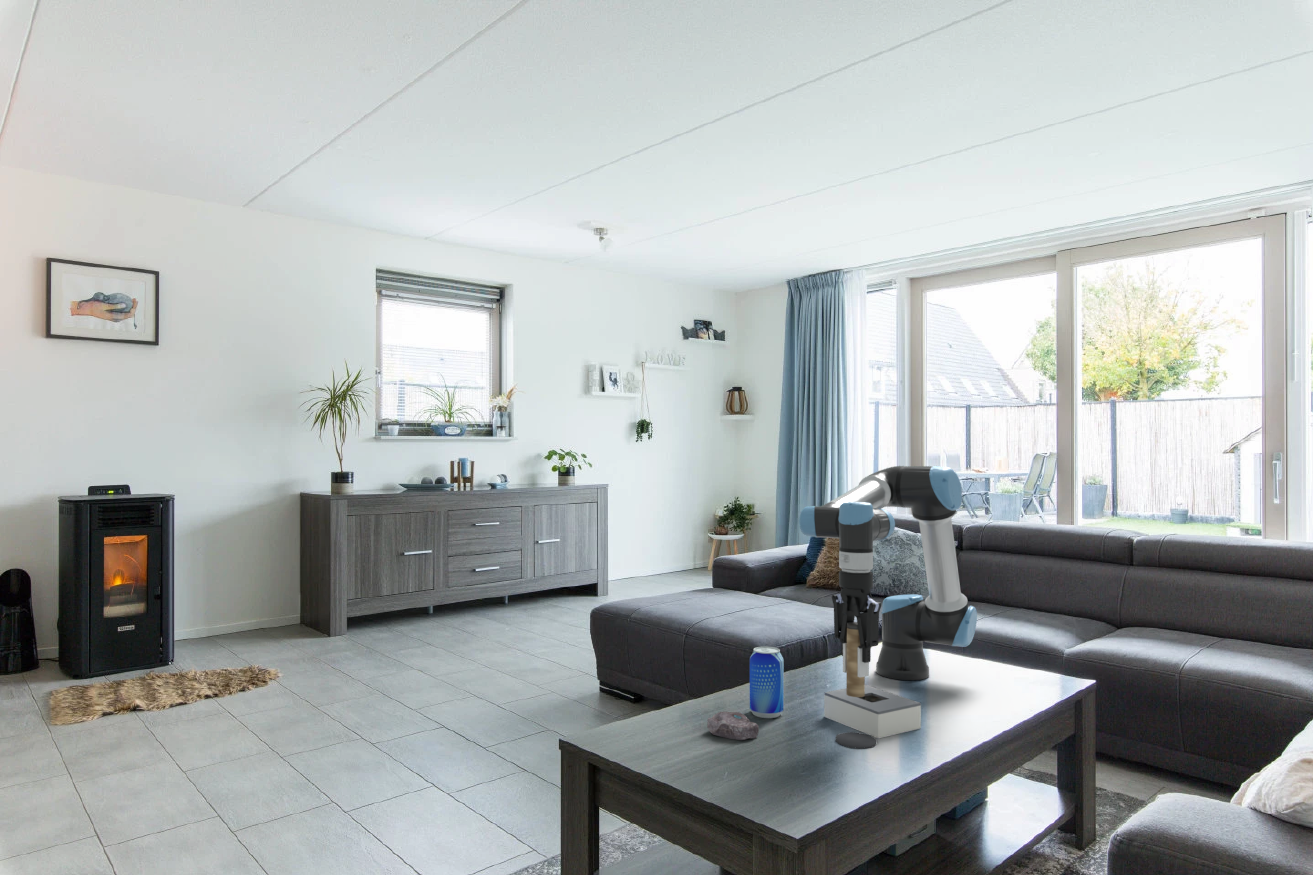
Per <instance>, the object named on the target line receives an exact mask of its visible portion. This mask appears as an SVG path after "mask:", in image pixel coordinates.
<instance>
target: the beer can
mask: <svg viewBox="0 0 1313 875" xmlns="http://www.w3.org/2000/svg"><path fill="white" fill-rule="evenodd" d="M780 651H781V650H780V648H777V647H773V646H758V647H754V648H753V652H752V654H751V655H750V657H749V710H750V711H751V712H752V715H753V716H754V717H758V718H763V719H773V718H778V717H780V716H781V714H782V712H783V711H784V695H785V694H784V693H785V692H784V680H785V678H784V677H785V676H784V670H785V669H784V667H785V666H784V662H785V661H784V657H783V655H782V653H781V652H780Z"/></svg>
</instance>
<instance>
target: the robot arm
mask: <svg viewBox="0 0 1313 875" xmlns="http://www.w3.org/2000/svg"><path fill="white" fill-rule="evenodd" d="M962 495H963V491H962V483H961V480H960V478H959V475H958V474H957V472H956V471H955V470H954V469H952V468H951V467H948V466H939V465H933V466H930V465H929V466H927V465H925V466H924V465H919V466H917V465H914V466H913V465H911V466H910V465H897V466H891V467H886V468H884V469H880V470H878V471H876V472H873V473H870V474H868V475H867V476H865V477H863V478H862V479H861V480H860V482H858V485H857V486H855V487H853V488H852V489H850V490H848V491H846V492H844V493H843V494H841V495H839V496H837V497H836V498H834V499H832V500H830V501H829V502H827V503H825V504H822V505H820V506H817V505H813V506H811V505H808V506H805V507H803V508H802V509H801V511H800V513H799V516H798V519H799V520H798V522H799V529H800V532H801V533H802V534H803V535H804V536H807V537H815V538H817V539H818V538H824V539H826V538H828V539H829V538H830V539H839V540H838V542H839V545H838V546H839V547H838V551H839V552H838V556H839V558H838V562H839V563H838V564H839V565H838V567H839V568H840V569H841V570H840V571H838V585H839V587H840V588H841V590H840V593H839V594H832V595H831V601H832V604H833V605H832V606H833V628H834V630H833V632H834V633H833V634H834V637H835V638H836V639H838V640H840V643H841V644H840V645H841V647H840V648H841V653H840V654H841V656H842V673H846V674H847V623H848V622H855V618H856V622H857V624H858V632H859V639H860V646H858V677H870V674H869V673H870V671H869V670H870V666H869V664H870V662H871V660H872V659H871V654H872V653H871V649H872V647H877V646H878V645H879V632H880V631H879V629H880V628H879V627H880V625H879V624H880V622H879V621H880V612H881V643H882V644H881V649H880V652H879V656H878V659H877V662H876V664H875V672H876V674H878V675H879V676H881V677H885V678H888V679H893V680H898V681H899V680H900V681H920V680H925V679H927V678H929V677H930V667H929V665H928V663H927V659H926V655H925V652H924V642H925V643H931V644H938V645H939V644H940V645H944V646H945V645H946V646H947V645H948V646H951V647H961V648H965V647H968V646H969V645H970V644H971V643H972V641H973V640H974V636H975V633H976V628H977V623H978V611H977V609H976V607H975V606H973V605H969V602H968V597H967V596H966V595H965V594H964V593H962V592H961V585H960V575H959V569H958V560H957V559H958V558H957V551H956V544H955V538H954V537H955V536H954V529H953V521H952V520H953V519H952V518H953V517H955V516H956V514H957V510H958V509H960V507H961V505H962V502H963V501H962V500H963V497H962ZM886 507H887V508H888V507H891V508H902V509H903V508H904V509H906V508H907V509H911V514H912V517H913V519H915V520H916V521H918V524H919V530H920V531H919V533H920V538H921V545H922V553H923V559H924V565H925V566H924V568H925V573H926V580H927V588H928V594H929V595H928V596H926V598H925V600H924V597H923V595H922V594H913V593H912V594H911V593H910V594H898V595H891V596H887V597H886V598H883V601H882V603H881V602H880V601H877V602H876V601H875V600H874V599H873V597H872V594H871V590H872V588H873V587H874V573H873V572H872V571H871V570H873V569H874V542H876V541H879V542H880V541H883V540H886V539H888V538H889V537H890V536H892V535H893V533H894V531H895V528H896V521H895V518H894V515H892V513H891V512H890V511H888V510H887V509H884V508H886Z"/></svg>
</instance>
